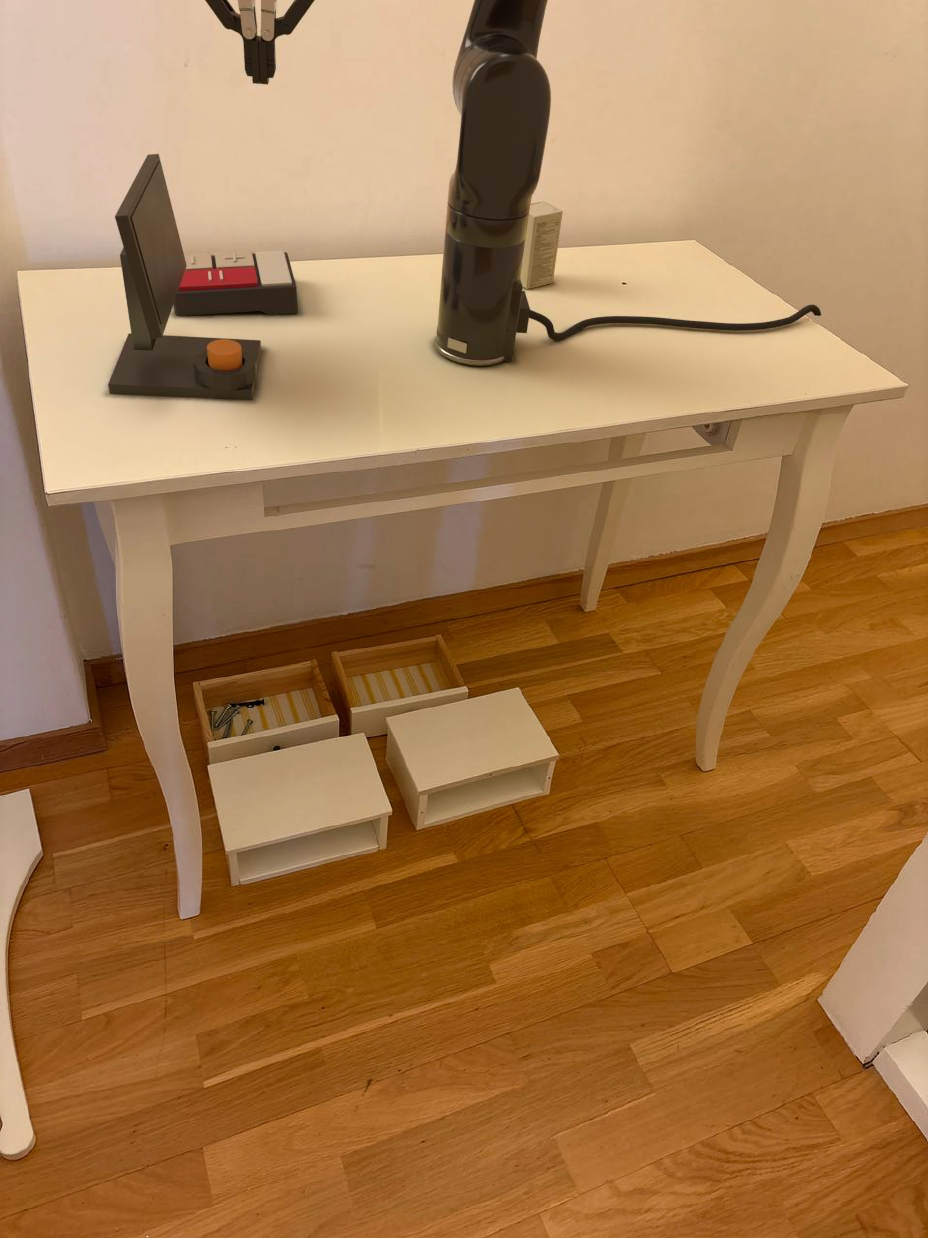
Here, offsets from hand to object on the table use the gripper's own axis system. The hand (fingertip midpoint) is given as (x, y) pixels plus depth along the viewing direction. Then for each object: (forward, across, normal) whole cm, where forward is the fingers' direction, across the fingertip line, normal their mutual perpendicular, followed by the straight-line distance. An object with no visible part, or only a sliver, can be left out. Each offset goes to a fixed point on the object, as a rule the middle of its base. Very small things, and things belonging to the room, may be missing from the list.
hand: (261, 81), depth 92 cm
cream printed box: (+29, +34, +27) cm, 52 cm away
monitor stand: (+26, -13, -4) cm, 29 cm away
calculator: (+29, -6, +16) cm, 34 cm away
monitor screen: (+21, -11, -4) cm, 24 cm away
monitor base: (+29, -9, -4) cm, 31 cm away
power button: (+26, -5, -7) cm, 28 cm away
